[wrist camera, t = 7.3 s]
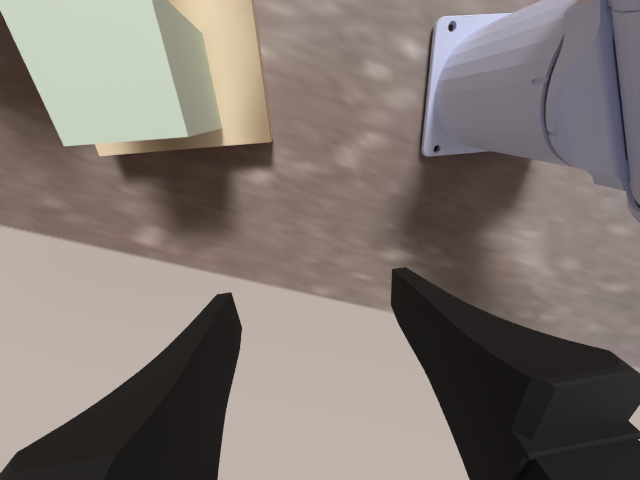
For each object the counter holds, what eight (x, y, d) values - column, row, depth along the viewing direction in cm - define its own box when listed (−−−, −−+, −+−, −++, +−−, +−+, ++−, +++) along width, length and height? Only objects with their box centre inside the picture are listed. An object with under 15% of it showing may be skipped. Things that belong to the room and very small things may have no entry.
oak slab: (254, 6, 15) (250, -8, 13) (273, 139, 18) (271, 142, 16) (66, 15, 14) (34, 1, 12) (119, 151, 17) (99, 156, 15)
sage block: (202, 33, 14) (146, -19, 8) (222, 128, 16) (188, 136, 10) (110, 37, 13) (-11, -14, 8) (142, 134, 15) (64, 146, 10)
